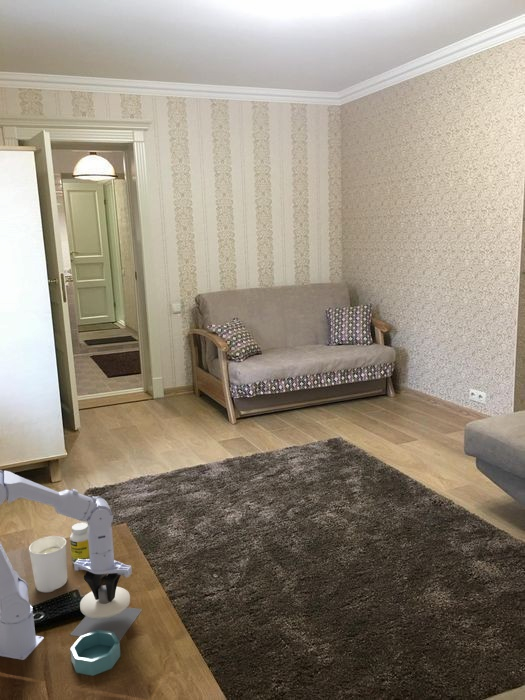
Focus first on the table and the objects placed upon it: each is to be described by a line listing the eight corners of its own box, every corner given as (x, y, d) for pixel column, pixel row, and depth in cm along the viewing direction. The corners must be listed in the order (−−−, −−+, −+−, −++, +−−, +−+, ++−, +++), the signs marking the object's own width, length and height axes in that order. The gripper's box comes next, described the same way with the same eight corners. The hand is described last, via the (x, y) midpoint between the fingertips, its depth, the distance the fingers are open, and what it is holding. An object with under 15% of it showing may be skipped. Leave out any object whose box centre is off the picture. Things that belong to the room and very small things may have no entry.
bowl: (64, 672, 133) (62, 656, 132) (88, 642, 142) (86, 628, 142) (105, 680, 130) (104, 663, 130) (126, 649, 140) (125, 634, 139)
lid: (70, 614, 144) (69, 599, 143) (95, 586, 155) (94, 572, 155) (116, 621, 141) (114, 606, 140) (138, 592, 152) (137, 578, 152)
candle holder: (25, 590, 164) (20, 550, 162) (50, 571, 173) (46, 533, 171) (53, 597, 161) (49, 556, 158) (77, 578, 170) (73, 539, 167)
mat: (69, 637, 145) (69, 634, 145) (97, 604, 157) (97, 602, 157) (118, 644, 142) (118, 642, 141) (142, 611, 154) (142, 609, 154)
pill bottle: (68, 565, 176) (65, 531, 174) (76, 554, 182) (73, 521, 180) (89, 566, 176) (86, 531, 174) (96, 554, 182) (93, 521, 180)
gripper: (135, 543, 147) (139, 592, 150) (83, 536, 151) (87, 585, 153) (122, 558, 141) (126, 609, 143) (67, 551, 144) (72, 601, 147)
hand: (105, 598), depth 148 cm, fingers closed on lid, 3 cm apart
